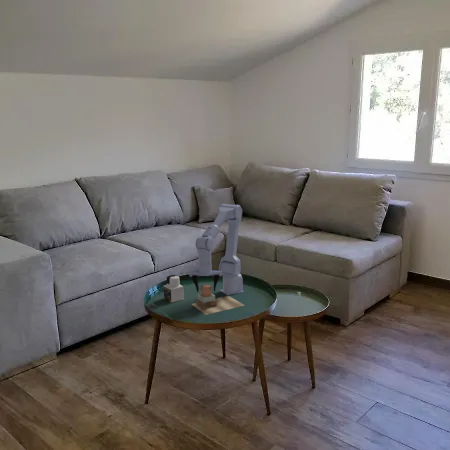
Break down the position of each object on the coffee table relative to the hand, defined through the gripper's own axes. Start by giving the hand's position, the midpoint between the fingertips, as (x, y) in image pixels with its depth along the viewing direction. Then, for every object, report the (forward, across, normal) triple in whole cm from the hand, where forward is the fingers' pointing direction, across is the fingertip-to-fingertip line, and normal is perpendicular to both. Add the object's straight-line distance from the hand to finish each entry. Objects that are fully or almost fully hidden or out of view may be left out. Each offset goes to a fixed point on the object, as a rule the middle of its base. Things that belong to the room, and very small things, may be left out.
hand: (206, 290), depth 224 cm
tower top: (+4, 0, 0) cm, 4 cm away
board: (+7, +5, 0) cm, 9 cm away
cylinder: (+2, 0, 0) cm, 2 cm away
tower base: (+7, 0, 0) cm, 7 cm away
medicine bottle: (+8, -16, +9) cm, 20 cm away
